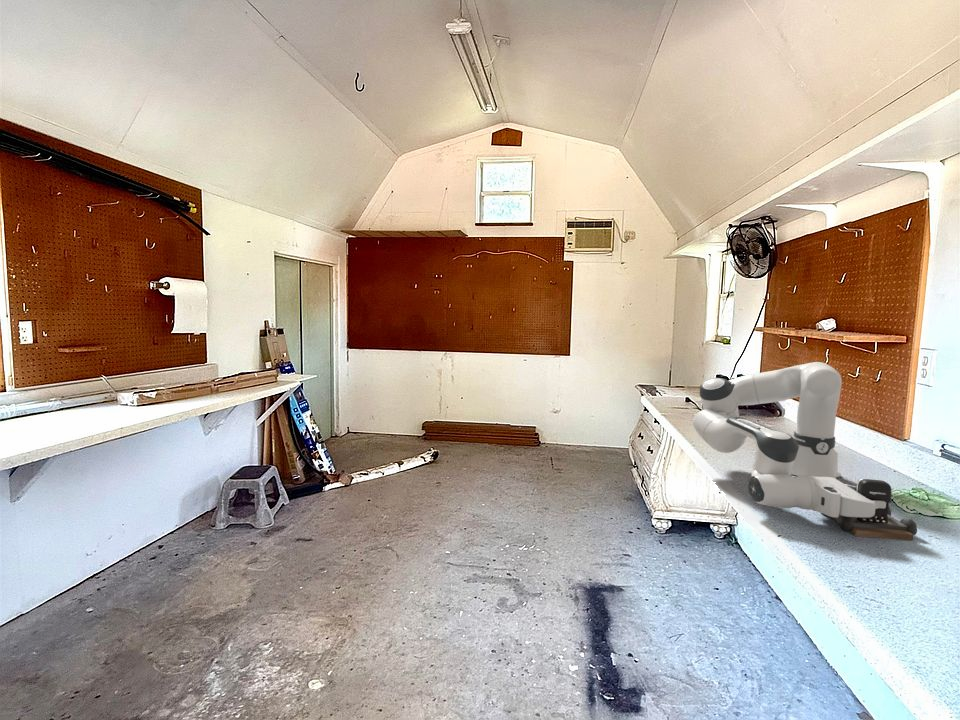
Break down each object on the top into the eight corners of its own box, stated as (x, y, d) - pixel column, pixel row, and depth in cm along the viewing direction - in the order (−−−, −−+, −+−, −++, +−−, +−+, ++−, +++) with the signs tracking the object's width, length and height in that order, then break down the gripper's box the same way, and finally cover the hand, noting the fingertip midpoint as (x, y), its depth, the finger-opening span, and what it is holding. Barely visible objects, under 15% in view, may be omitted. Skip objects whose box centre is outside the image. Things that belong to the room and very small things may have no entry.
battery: (860, 524, 130) (862, 480, 129) (853, 519, 134) (856, 477, 133) (892, 527, 128) (894, 483, 127) (884, 522, 131) (887, 479, 131)
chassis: (815, 509, 144) (816, 495, 143) (877, 513, 141) (879, 499, 141) (849, 535, 127) (850, 520, 127) (920, 541, 125) (922, 525, 124)
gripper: (797, 490, 145) (849, 494, 143) (835, 520, 125) (896, 524, 123) (798, 469, 144) (851, 472, 142) (837, 496, 124) (899, 500, 122)
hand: (873, 497), depth 132 cm, fingers open, 8 cm apart
